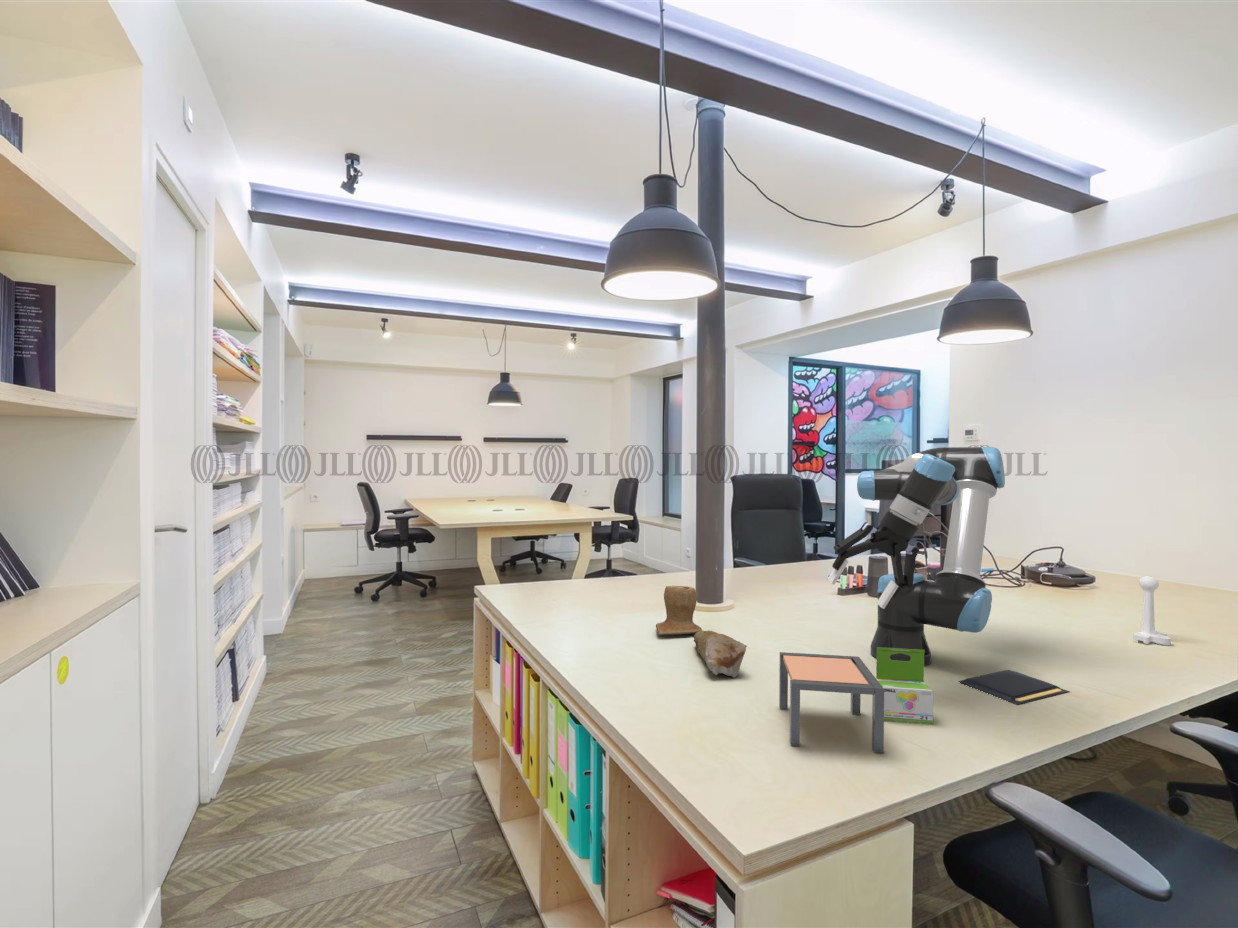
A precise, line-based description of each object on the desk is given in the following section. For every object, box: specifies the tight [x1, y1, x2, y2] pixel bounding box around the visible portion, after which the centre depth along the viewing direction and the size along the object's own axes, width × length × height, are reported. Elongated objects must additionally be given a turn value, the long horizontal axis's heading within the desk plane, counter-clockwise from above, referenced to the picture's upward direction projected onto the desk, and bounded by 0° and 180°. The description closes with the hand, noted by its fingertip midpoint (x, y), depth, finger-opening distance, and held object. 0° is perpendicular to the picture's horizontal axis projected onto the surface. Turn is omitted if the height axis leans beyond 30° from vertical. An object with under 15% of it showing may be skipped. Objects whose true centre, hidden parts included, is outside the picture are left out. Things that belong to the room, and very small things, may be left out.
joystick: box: [1132, 575, 1172, 647], centre depth 174 cm, size 11×8×20 cm
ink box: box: [875, 647, 934, 725], centre depth 122 cm, size 10×5×14 cm, turn 80°
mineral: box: [693, 630, 748, 678], centre depth 155 cm, size 26×9×10 cm
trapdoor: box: [783, 655, 869, 685], centre depth 117 cm, size 14×14×1 cm
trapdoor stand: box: [778, 651, 885, 754], centre depth 116 cm, size 17×18×12 cm
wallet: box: [958, 669, 1071, 706], centre depth 139 cm, size 20×2×15 cm
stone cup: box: [655, 585, 702, 636], centre depth 181 cm, size 15×12×15 cm
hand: (855, 594), depth 136 cm, fingers open, 13 cm apart
